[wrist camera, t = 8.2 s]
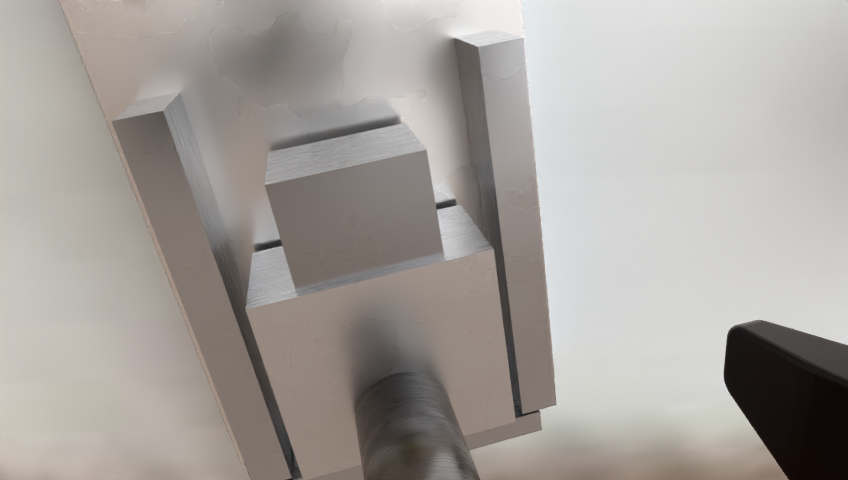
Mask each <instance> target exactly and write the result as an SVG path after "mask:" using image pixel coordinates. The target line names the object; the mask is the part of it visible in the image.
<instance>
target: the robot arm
mask: <svg viewBox="0 0 848 480" xmlns="http://www.w3.org/2000/svg"><path fill="white" fill-rule="evenodd" d="M724 381H725V384H726V387H727V389H728V391H729V393H730V394H731V396H732V397H733V399H734V400H735V402H736V403H737V405H738V406H739V408H740V409H741V411H742V412H743V413H744V415H745V416H746V418H747V419H748V421H749V422H750V424H751V425H752V427H753V428H754V430H755V431H756V432H757V434H758V435H759V437H760V438H761V440H762V441H763V443H764V444H765V446H766V447H767V449H768V450H769V451H770V453H771V454H772V456H773V457H774V459H775V460H776V462H777V463H778V465H779V466H780V468H781V469H782V471H783V472H784V473H785V475H786V476H787V477H788V479H789V480H848V345H845V344H841V343H838V342H835V341H831V340H828V339H824V338H821V337H818V336H814V335H811V334H807V333H804V332H801V331H797V330H794V329H791V328H787V327H784V326H780V325H777V324H774V323H770V322H767V321H763V320H755V321H751V322H747V323H743V324H738V325H735V326H733V327H732V328H731V329H730V330H729V332H728V335H727V344H726V354H725V364H724Z"/></svg>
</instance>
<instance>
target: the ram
mask: <svg viewBox="0 0 848 480" xmlns="http://www.w3.org/2000/svg"><path fill="white" fill-rule="evenodd" d="M265 188H266V192H267V195H268V198H269V202H270V205H271V209H272V212H273V215H274V219H275V222H276V226H277V229H278V232H279V236H280V239H281V243H282V246H280V247H275V248H271V249H267V250H263V251H258V252H254V253H253V254H252V262H251V270H250V278H249V286H248V293H247V301H246V309H245V310H246V313H247V316H248V319H249V321H250V324H251V327H252V330H253V333H254V336H255V339H256V342H257V345H258V348H259V351H260V354H261V357H262V360H263V363H264V366H265V369H266V372H267V375H268V377H269V380H270V383H271V386H272V389H273V392H274V395H275V398H276V401H277V404H278V407H279V410H280V413H281V416H282V419H283V422H284V425H285V428H286V431H287V433H288V436H289V439H290V442H291V445H292V448H293V451H294V454H295V457H296V460H297V463H298V466H299V469H300V472H301V475H302V478H303V480H308V479H311V478H315V477H319V476H322V475H326V474H329V473H333V472H337V471H340V470H344V469H347V468H351V467H355V466H358V465H362V470H363V477H364V480H480V478H479V475H478V473H477V470H476V467H475V465H474V462H473V460H472V457H471V454H470V452H469V449H468V446H467V444H466V441H465V438H464V436H466V435H470V434H473V433H477V432H480V431H484V430H488V429H491V428H495V427H498V426H502V425H506V424H509V423H513V422H516V420H515V412H514V404H513V396H512V389H511V381H510V373H509V365H508V357H507V349H506V342H505V334H504V326H503V318H502V310H501V302H500V295H499V287H498V279H497V271H496V263H495V255H494V249H493V248H492V246H491V245H490V244H489V242H488V241H487V240H486V238H485V237H484V236H483V234H482V233H481V231H480V230H479V229H478V227H477V226H476V225H475V223H474V222H473V221H472V219H471V218H470V217H469V215H468V214H467V213H466V211H465V210H464V209H463V207H462V206H461V205H456V206H452V207H447V208H443V209H439V210H437V209H436V203H435V197H434V191H433V185H432V179H431V173H430V167H429V161H428V155H427V150H426V148H425V147H424V146H423V144H422V143H421V142H420V141H419V139H418V138H417V137H416V136H415V134H414V133H413V132H412V130H411V129H410V128H409V127H408V125H407V124H406V123H402V124H398V125H393V126H388V127H384V128H379V129H374V130H370V131H365V132H360V133H356V134H351V135H346V136H342V137H337V138H332V139H328V140H323V141H318V142H314V143H309V144H304V145H300V146H295V147H290V148H286V149H281V150H276V151H272V152H268V160H267V169H266V178H265Z"/></svg>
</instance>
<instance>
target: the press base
mask: <svg viewBox="0 0 848 480" xmlns="http://www.w3.org/2000/svg"><path fill="white" fill-rule="evenodd" d="M59 2H60V5H61V7H62V10H63V12H64V15H65V17H66V20H67V22H68V25H69V27H70V30H71V33H72V35H73V38H74V40H75V43H76V45H77V48H78V50H79V53H80V55H81V58H82V61H83V63H84V66H85V68H86V71H87V73H88V76H89V78H90V81H91V83H92V86H93V89H94V91H95V94H96V96H97V99H98V101H99V104H100V106H101V109H102V111H103V114H104V116H105V119H106V122H107V124H108V127H109V129H110V132H111V134H112V137H113V139H114V142H115V144H116V147H117V150H118V152H119V155H120V157H121V160H122V162H123V165H124V167H125V170H126V172H127V175H128V178H129V180H130V183H131V185H132V188H133V190H134V193H135V195H136V198H137V200H138V203H139V205H140V208H141V211H142V213H143V216H144V218H145V221H146V223H147V226H148V228H149V231H150V233H151V236H152V239H153V241H154V244H155V246H156V249H157V251H158V254H159V256H160V259H161V261H162V264H163V267H164V269H165V272H166V274H167V277H168V279H169V282H170V284H171V287H172V289H173V292H174V295H175V297H176V300H177V302H178V305H179V307H180V310H181V312H182V315H183V317H184V320H185V322H186V325H187V328H188V330H189V333H190V335H191V338H192V340H193V343H194V345H195V348H196V350H197V353H198V356H199V358H200V361H201V363H202V366H203V368H204V371H205V373H206V376H207V378H208V381H209V384H210V386H211V389H212V391H213V394H214V396H215V399H216V401H217V404H218V406H219V409H220V412H221V414H222V417H223V419H224V422H225V424H226V427H227V429H228V432H229V434H230V437H231V439H232V442H233V445H234V447H235V450H236V452H237V455H238V457H239V460H240V462H244V463H245V466H246V468H247V471H248V473H249V476H250V479H251V480H303V478H302V475H301V472H300V469H299V466H298V463H297V460H296V457H295V454H294V451H293V448H292V445H291V442H290V439H289V436H288V433H287V431H286V428H285V425H284V422H283V419H282V416H281V413H280V410H279V407H278V404H277V401H276V398H275V395H274V392H273V389H272V386H271V383H270V380H269V377H268V375H267V372H266V369H265V366H264V363H263V360H262V357H261V354H260V351H259V348H258V345H257V342H256V339H255V336H254V333H253V330H252V327H251V324H250V321H249V319H248V316H247V313H246V310H245V309H246V301H247V293H248V286H249V278H250V270H251V262H252V254H253V253H254V252H258V251H263V250H267V249H271V248H275V247H280V246H282V243H281V239H280V236H279V232H278V229H277V226H276V222H275V219H274V215H273V212H272V209H271V205H270V202H269V198H268V195H267V192H266V188H265V178H266V169H267V160H268V152H272V151H276V150H281V149H286V148H290V147H295V146H300V145H304V144H309V143H314V142H318V141H323V140H328V139H332V138H337V137H342V136H346V135H351V134H356V133H360V132H365V131H370V130H374V129H379V128H384V127H388V126H393V125H398V124H402V123H406V124H407V125H408V127H409V128H410V129H411V130H412V132H413V133H414V134H415V136H416V137H417V138H418V139H419V141H420V142H421V143H422V144H423V146H424V147H425V148H426V150H427V155H428V161H429V167H430V173H431V179H432V185H433V191H434V197H435V203H436V209H437V210H439V209H443V208H447V207H452V206H456V205H461V206H462V207H463V209H464V210H465V211H466V213H467V214H468V215H469V217H470V218H471V219H472V221H473V222H474V223H475V225H476V226H477V227H478V229H479V230H480V231H481V233H482V234H483V236H484V237H485V238H486V240H487V241H488V242H489V244H490V245H491V246H492V248H493V249H494V255H495V263H496V271H497V279H498V287H499V295H500V302H501V310H502V318H503V326H504V334H505V342H506V349H507V357H508V365H509V373H510V381H511V389H512V396H513V404H514V412H515V420H516V422H513V423H509V424H506V425H502V426H498V427H495V428H491V429H488V430H484V431H480V432H477V433H473V434H470V435H466V436H464V438H465V441H466V444H467V446H468V449H469V450H472V449H475V448H479V447H482V446H486V445H489V444H493V443H497V442H500V441H504V440H507V439H511V438H514V437H518V436H521V435H525V434H529V433H532V432H536V431H539V430H542V428H541V418H540V411H539V410H540V409H543V408H547V407H550V406H554V405H556V395H555V384H554V378H555V377H554V365H553V354H552V343H551V332H550V320H549V309H548V298H547V286H546V275H545V264H544V253H543V241H542V230H541V219H540V207H539V196H538V185H537V174H536V162H535V151H534V140H533V129H532V117H531V106H530V95H529V83H528V72H527V61H526V50H525V38H524V27H523V16H522V4H521V0H117V1H116V0H59ZM308 480H364V477H363V470H362V465H358V466H355V467H351V468H347V469H344V470H340V471H337V472H333V473H329V474H326V475H322V476H319V477H315V478H311V479H308Z"/></svg>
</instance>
